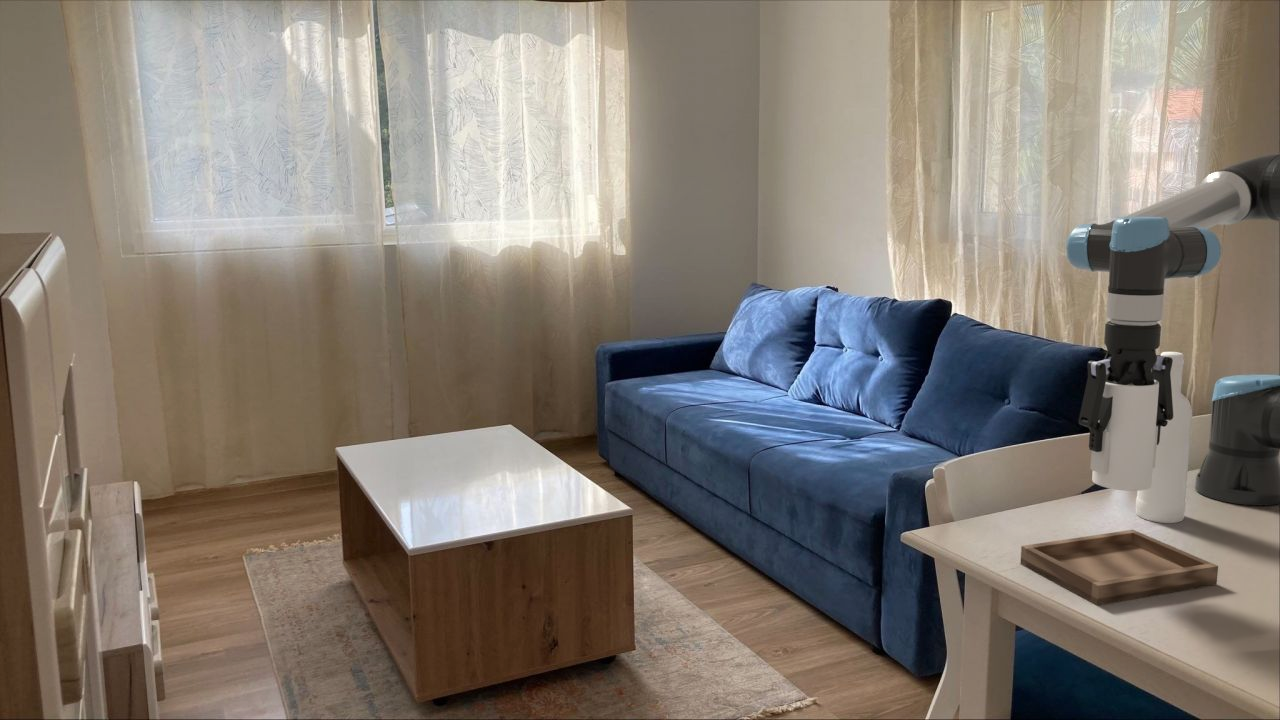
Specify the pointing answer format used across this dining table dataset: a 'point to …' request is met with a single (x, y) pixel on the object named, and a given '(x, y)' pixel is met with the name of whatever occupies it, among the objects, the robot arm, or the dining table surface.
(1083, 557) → the tray
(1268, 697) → the dining table surface
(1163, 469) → the bottle
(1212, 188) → the robot arm
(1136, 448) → the cup
